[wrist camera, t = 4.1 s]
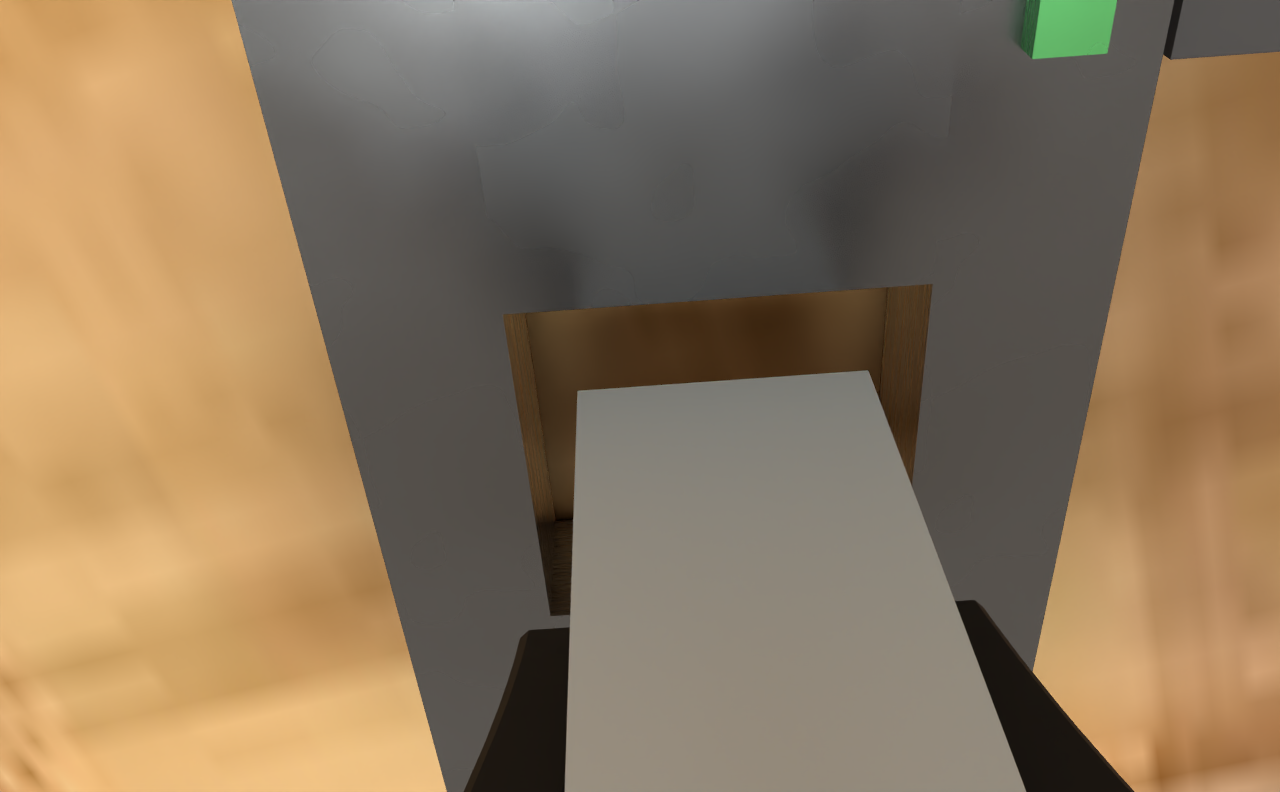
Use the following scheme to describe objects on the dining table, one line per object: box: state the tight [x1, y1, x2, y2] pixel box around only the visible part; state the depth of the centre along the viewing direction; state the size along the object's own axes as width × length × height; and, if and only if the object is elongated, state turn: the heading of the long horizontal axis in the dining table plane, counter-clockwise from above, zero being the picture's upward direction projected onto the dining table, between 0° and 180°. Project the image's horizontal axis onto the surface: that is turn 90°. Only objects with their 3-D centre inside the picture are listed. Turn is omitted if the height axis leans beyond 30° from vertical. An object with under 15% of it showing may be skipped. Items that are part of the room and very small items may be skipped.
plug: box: [565, 370, 1026, 792], centre depth 11 cm, size 4×4×8 cm
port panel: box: [232, 0, 1174, 792], centre depth 16 cm, size 10×16×3 cm, turn 4°
